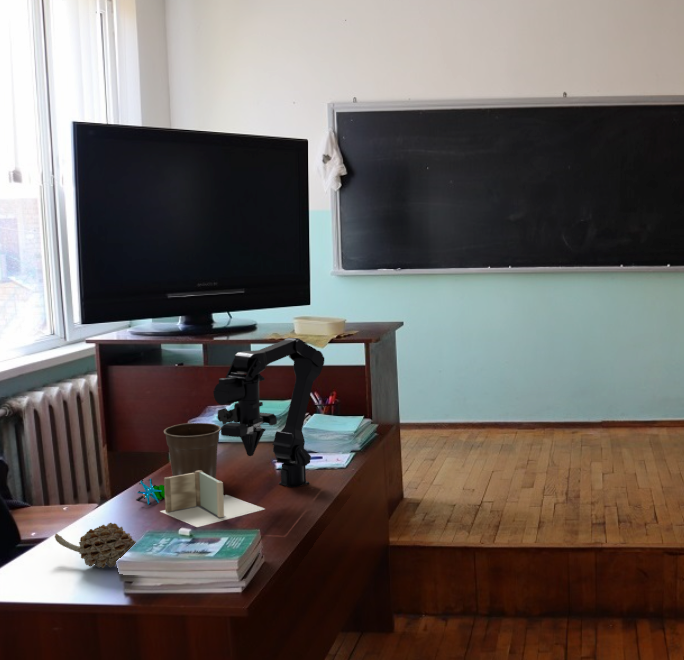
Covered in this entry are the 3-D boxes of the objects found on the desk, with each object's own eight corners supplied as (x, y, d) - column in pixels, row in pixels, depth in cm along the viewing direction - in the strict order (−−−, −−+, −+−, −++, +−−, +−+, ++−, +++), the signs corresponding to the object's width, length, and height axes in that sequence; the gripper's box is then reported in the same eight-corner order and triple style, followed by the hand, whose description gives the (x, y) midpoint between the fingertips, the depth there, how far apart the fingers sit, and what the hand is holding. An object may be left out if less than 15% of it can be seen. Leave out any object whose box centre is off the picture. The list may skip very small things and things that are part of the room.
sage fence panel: (199, 505, 256) (198, 472, 255) (204, 504, 257) (202, 471, 256) (219, 517, 246) (218, 483, 245) (224, 516, 246) (222, 482, 245)
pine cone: (147, 562, 217) (145, 519, 216) (124, 578, 208) (122, 533, 207) (63, 553, 224) (61, 511, 223) (37, 567, 215) (35, 524, 214)
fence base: (201, 503, 259) (200, 470, 258) (205, 505, 257) (203, 471, 256) (164, 510, 253) (163, 476, 252) (167, 512, 251) (166, 478, 250)
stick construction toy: (147, 501, 256) (139, 476, 259) (130, 513, 259) (122, 488, 262) (176, 502, 266) (168, 478, 269) (160, 513, 268) (152, 489, 271)
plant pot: (207, 493, 269) (204, 436, 267) (155, 489, 275) (153, 433, 273) (232, 478, 285) (230, 424, 283) (183, 474, 290) (180, 421, 288)
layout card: (226, 496, 267) (226, 494, 267) (265, 510, 253) (265, 508, 253) (159, 512, 253) (159, 511, 253) (197, 528, 239) (197, 527, 239)
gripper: (243, 391, 272) (245, 445, 274) (203, 402, 256) (205, 460, 258) (277, 394, 267) (278, 449, 269) (238, 406, 251) (240, 465, 252)
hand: (250, 455), depth 262 cm, fingers closed
